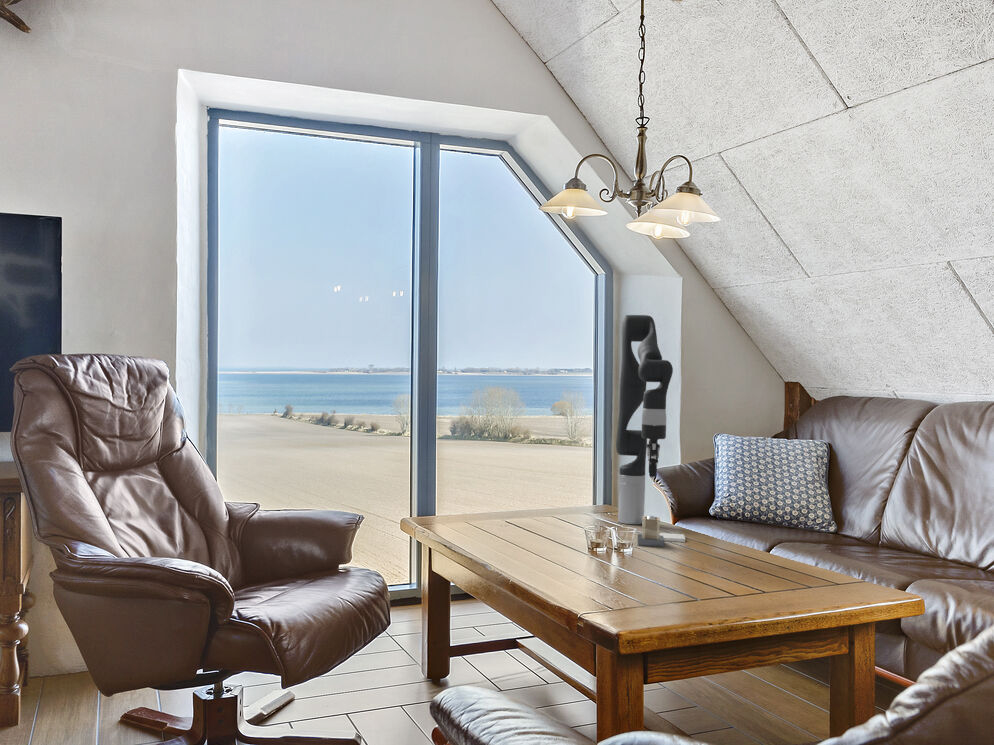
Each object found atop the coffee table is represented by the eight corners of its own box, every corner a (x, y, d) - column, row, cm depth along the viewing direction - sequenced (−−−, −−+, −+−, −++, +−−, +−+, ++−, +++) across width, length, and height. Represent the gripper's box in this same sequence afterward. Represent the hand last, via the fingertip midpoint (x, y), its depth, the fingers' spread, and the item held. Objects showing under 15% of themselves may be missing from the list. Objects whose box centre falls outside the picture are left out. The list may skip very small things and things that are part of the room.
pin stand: (637, 540, 263) (638, 513, 263) (662, 541, 262) (663, 515, 262) (637, 545, 255) (638, 517, 255) (663, 546, 254) (664, 519, 254)
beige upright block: (642, 535, 261) (642, 516, 261) (658, 536, 260) (659, 517, 260) (642, 538, 256) (642, 519, 256) (659, 539, 255) (659, 519, 255)
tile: (658, 535, 272) (658, 532, 272) (683, 537, 270) (683, 534, 270) (659, 540, 264) (659, 537, 264) (685, 542, 262) (685, 538, 262)
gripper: (641, 421, 266) (640, 472, 266) (642, 424, 252) (640, 477, 252) (665, 422, 265) (663, 473, 265) (667, 425, 251) (665, 478, 251)
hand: (652, 475), depth 258 cm, fingers open, 8 cm apart
